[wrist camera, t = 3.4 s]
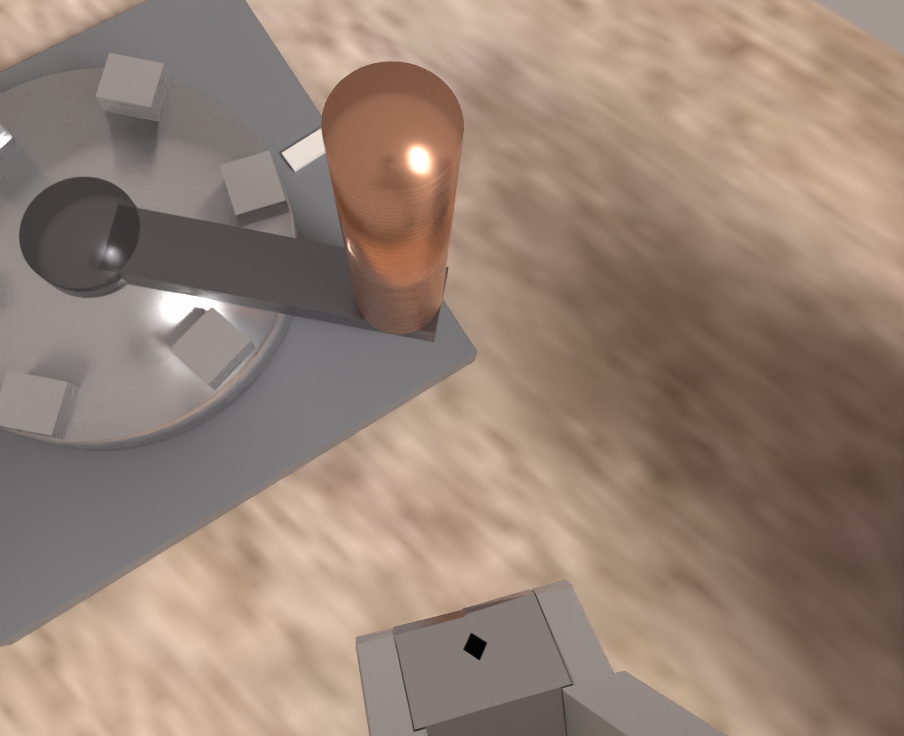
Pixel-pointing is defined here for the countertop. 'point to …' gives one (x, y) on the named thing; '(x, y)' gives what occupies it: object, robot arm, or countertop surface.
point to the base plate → (258, 409)
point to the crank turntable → (200, 243)
